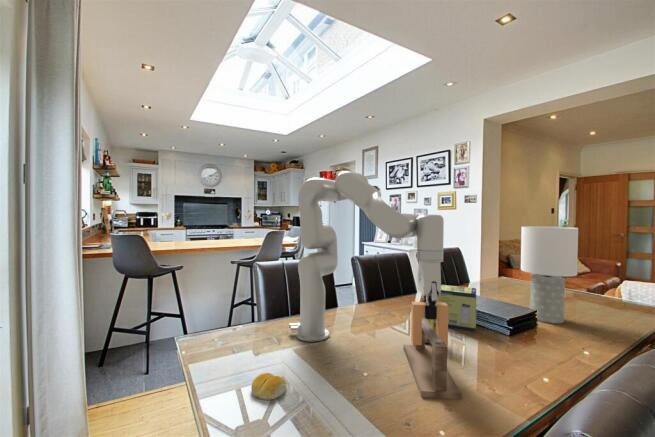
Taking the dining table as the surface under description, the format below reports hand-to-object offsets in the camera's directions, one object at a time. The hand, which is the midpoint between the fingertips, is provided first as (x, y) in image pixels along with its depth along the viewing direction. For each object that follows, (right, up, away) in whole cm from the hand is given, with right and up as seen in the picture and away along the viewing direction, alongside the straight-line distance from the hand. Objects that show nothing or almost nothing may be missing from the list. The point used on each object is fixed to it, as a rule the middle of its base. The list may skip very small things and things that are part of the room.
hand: (429, 316), depth 92 cm
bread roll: (-46, -17, -11) cm, 50 cm away
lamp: (+69, -16, +47) cm, 85 cm away
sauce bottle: (+7, -16, +22) cm, 28 cm away
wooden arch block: (0, -8, 0) cm, 8 cm away
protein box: (+24, -16, +38) cm, 48 cm away
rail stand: (0, -16, 0) cm, 16 cm away
